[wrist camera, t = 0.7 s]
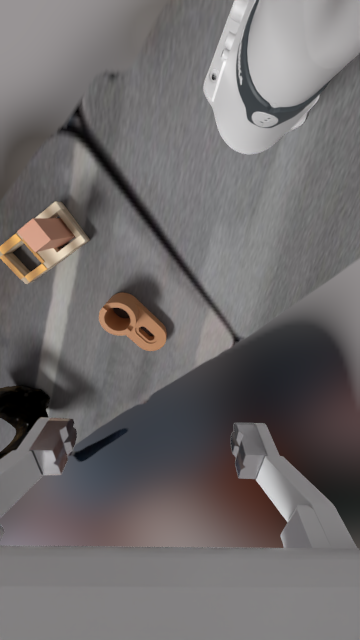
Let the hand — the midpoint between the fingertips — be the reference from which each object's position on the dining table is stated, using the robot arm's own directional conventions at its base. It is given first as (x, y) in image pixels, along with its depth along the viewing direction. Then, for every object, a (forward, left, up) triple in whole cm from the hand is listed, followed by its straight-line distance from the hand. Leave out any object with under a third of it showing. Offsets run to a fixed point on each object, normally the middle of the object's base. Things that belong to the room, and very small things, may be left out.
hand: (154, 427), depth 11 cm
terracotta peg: (-1, -25, -42) cm, 49 cm away
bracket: (+16, -6, -42) cm, 46 cm away
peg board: (+2, -28, -42) cm, 51 cm away
